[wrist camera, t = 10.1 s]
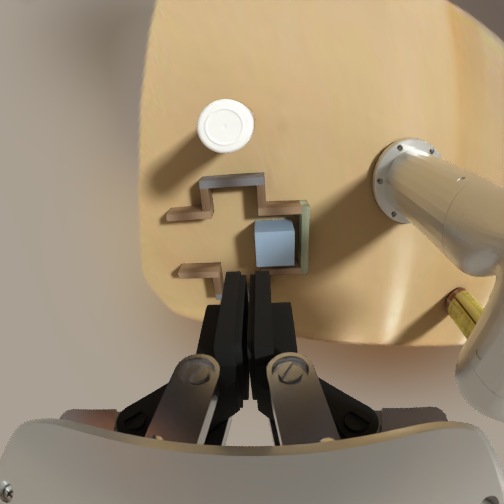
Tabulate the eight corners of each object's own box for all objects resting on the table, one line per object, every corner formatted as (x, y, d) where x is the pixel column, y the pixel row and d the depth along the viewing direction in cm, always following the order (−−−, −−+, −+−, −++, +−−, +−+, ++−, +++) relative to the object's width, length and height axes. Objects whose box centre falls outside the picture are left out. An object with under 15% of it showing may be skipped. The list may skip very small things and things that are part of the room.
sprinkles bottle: (261, 128, 33) (263, 138, 21) (229, 144, 34) (212, 164, 22) (244, 96, 31) (236, 88, 19) (211, 113, 32) (185, 116, 20)
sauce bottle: (449, 314, 47) (492, 384, 30) (439, 301, 46) (486, 377, 28) (471, 293, 45) (519, 359, 27) (462, 278, 43) (516, 349, 26)
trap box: (306, 171, 35) (309, 175, 33) (304, 286, 44) (306, 296, 42) (166, 180, 36) (161, 185, 34) (187, 290, 45) (184, 300, 42)
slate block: (291, 218, 39) (294, 230, 35) (291, 250, 41) (294, 265, 38) (254, 220, 39) (254, 232, 35) (256, 252, 41) (256, 266, 38)
